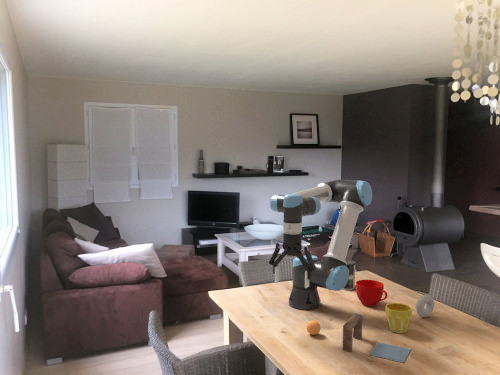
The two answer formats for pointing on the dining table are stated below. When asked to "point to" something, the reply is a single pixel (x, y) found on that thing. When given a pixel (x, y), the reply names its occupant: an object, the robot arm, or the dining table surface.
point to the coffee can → (350, 275)
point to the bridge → (352, 331)
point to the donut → (421, 304)
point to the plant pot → (398, 316)
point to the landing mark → (390, 352)
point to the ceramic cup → (370, 292)
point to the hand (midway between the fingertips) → (291, 284)
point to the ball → (313, 327)
